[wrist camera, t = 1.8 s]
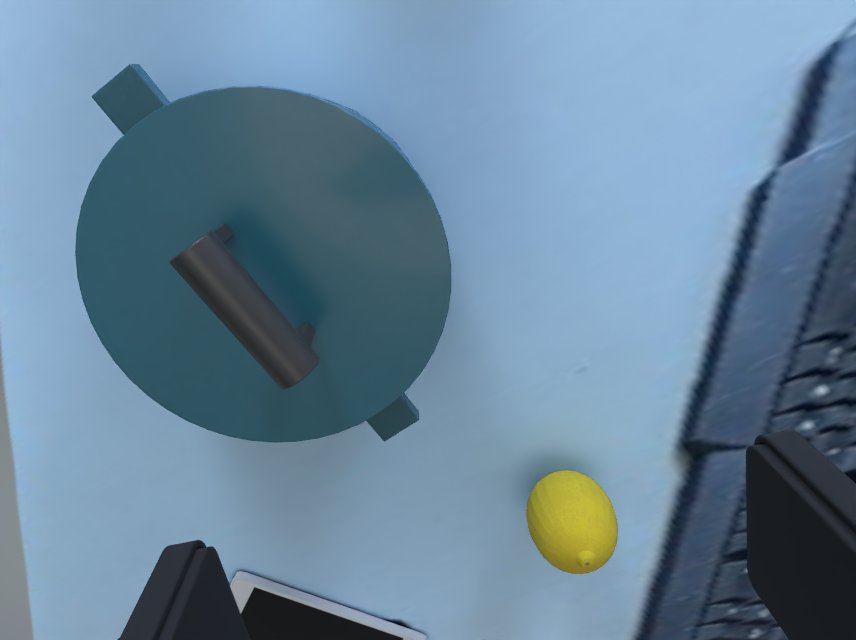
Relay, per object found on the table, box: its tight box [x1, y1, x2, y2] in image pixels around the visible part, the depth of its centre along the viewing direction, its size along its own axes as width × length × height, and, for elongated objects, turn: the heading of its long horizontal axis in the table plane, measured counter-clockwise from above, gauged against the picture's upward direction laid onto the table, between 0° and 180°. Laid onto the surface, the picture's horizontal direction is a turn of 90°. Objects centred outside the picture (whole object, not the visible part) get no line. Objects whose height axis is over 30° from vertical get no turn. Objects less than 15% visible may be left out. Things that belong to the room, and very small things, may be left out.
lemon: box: [527, 470, 618, 574], centre depth 41 cm, size 6×6×8 cm
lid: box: [75, 86, 451, 442], centre depth 29 cm, size 18×18×6 cm
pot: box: [92, 64, 419, 441], centre depth 35 cm, size 17×22×8 cm
